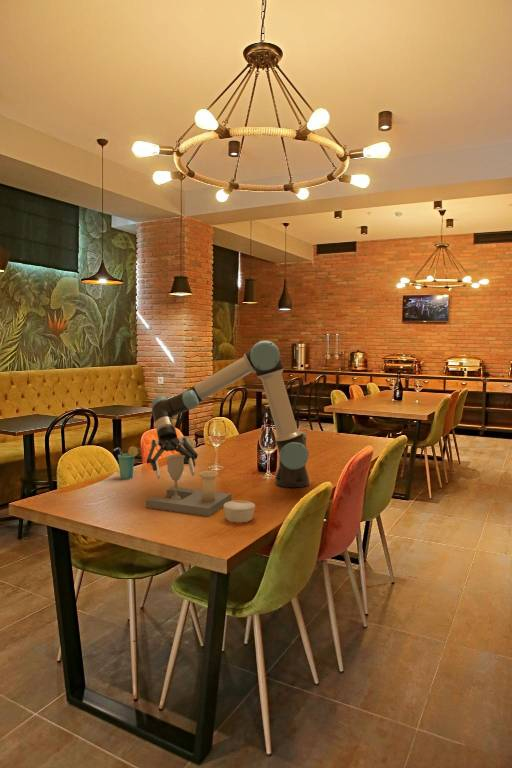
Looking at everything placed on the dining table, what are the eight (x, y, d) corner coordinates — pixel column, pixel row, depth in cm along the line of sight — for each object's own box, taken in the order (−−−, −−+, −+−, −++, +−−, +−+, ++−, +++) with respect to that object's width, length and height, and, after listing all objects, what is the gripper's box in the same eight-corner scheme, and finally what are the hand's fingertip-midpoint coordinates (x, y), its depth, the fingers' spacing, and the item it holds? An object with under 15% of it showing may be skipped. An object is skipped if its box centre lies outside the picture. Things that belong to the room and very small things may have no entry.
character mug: (198, 462, 283) (198, 437, 282) (192, 465, 276) (192, 439, 275) (179, 460, 286) (179, 435, 285) (173, 463, 280) (173, 437, 278)
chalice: (169, 506, 208) (169, 459, 207) (164, 501, 214) (163, 455, 213) (188, 503, 212) (187, 457, 210) (182, 498, 218) (181, 454, 216)
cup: (120, 483, 240) (119, 449, 239) (107, 480, 244) (107, 447, 243) (142, 476, 252) (142, 444, 251) (129, 474, 256) (129, 442, 255)
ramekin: (254, 514, 201) (254, 500, 200) (255, 524, 190) (255, 509, 189) (223, 514, 200) (223, 499, 200) (222, 524, 189) (223, 509, 189)
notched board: (231, 501, 216) (231, 468, 214) (208, 516, 197) (208, 480, 196) (172, 493, 225) (172, 462, 224) (146, 507, 206) (146, 473, 205)
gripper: (193, 434, 231) (205, 477, 219) (134, 438, 221) (142, 483, 209) (197, 423, 226) (209, 467, 213) (136, 426, 216) (145, 473, 203)
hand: (176, 475), depth 211 cm, fingers open, 13 cm apart
